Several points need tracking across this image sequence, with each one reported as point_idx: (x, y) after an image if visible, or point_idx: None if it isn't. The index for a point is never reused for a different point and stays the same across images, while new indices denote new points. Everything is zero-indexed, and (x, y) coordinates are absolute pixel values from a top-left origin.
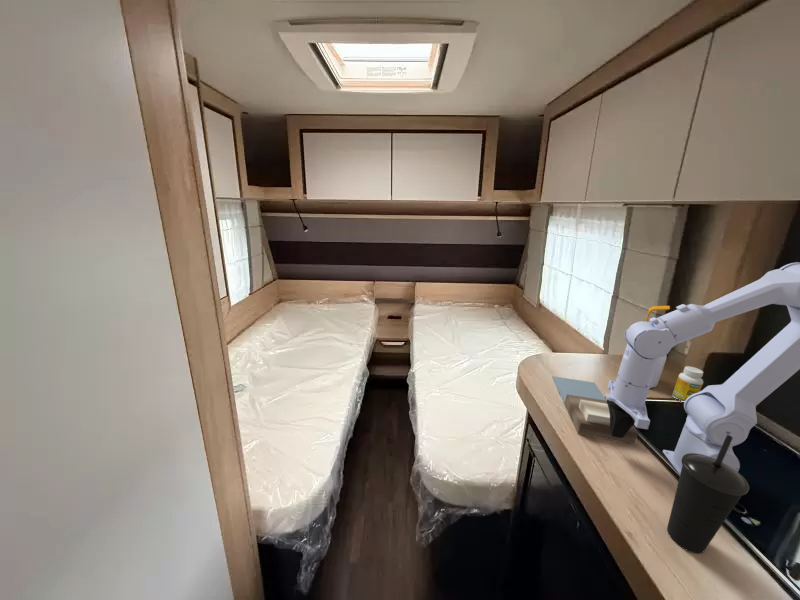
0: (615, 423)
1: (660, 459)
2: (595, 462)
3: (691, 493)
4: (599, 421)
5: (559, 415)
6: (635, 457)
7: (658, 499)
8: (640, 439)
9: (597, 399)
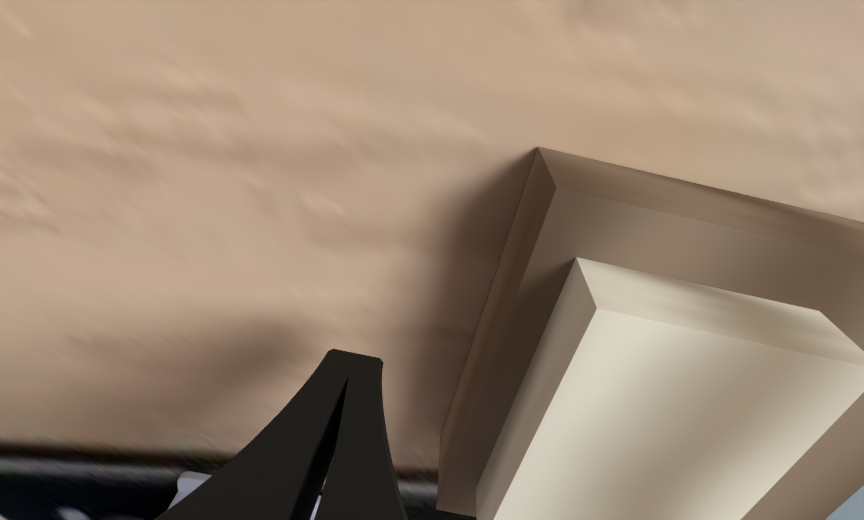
0: (235, 457)
1: None
2: (217, 111)
3: None
4: (541, 359)
5: (817, 106)
6: None
7: (29, 307)
8: None
9: (848, 496)
